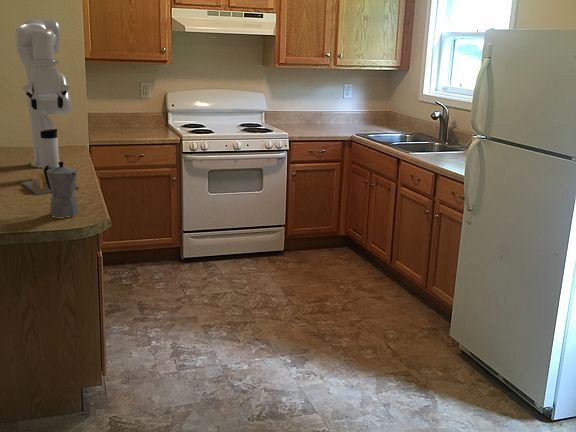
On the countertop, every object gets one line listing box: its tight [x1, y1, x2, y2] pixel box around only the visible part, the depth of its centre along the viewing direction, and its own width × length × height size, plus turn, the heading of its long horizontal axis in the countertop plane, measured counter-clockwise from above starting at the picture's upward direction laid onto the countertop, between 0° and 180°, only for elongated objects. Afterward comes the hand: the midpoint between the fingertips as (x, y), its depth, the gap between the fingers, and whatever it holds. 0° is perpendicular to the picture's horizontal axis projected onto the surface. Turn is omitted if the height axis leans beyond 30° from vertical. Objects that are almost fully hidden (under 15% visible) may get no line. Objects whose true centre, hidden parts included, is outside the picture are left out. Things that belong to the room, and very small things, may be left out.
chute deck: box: [21, 172, 80, 195], centre depth 242 cm, size 17×16×5 cm
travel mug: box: [40, 128, 60, 173], centre depth 253 cm, size 6×7×20 cm
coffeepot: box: [44, 160, 80, 217], centre depth 208 cm, size 15×9×18 cm, turn 57°
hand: (47, 108), depth 247 cm, fingers open, 9 cm apart
